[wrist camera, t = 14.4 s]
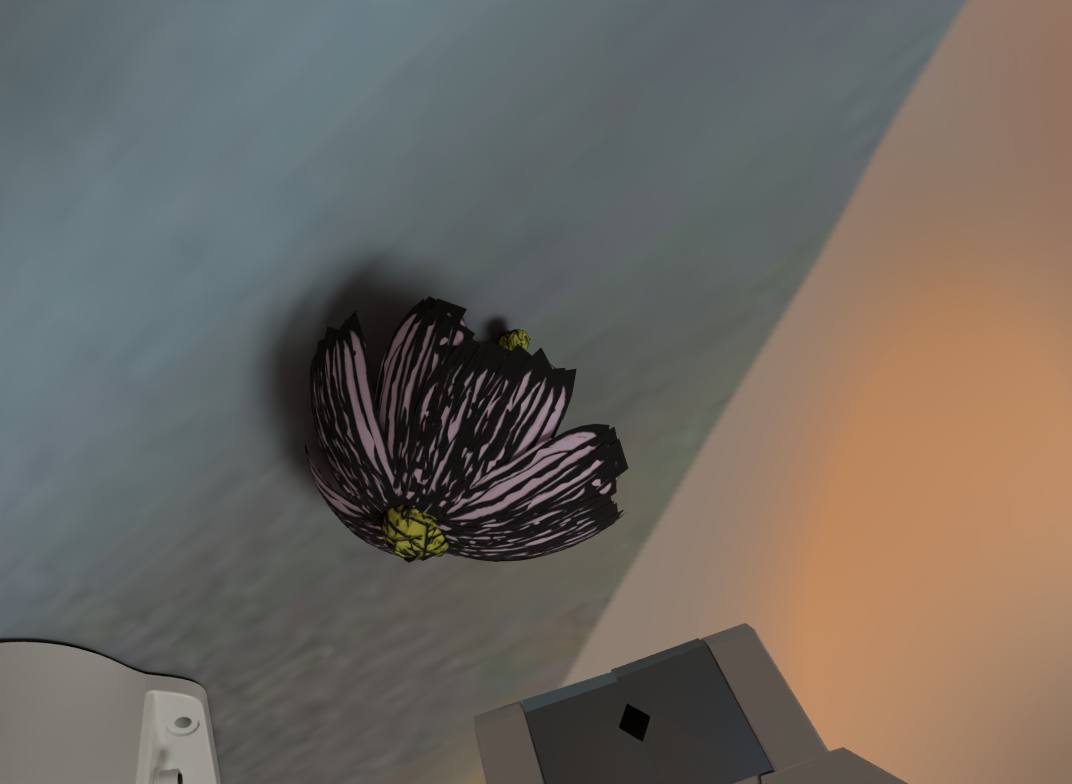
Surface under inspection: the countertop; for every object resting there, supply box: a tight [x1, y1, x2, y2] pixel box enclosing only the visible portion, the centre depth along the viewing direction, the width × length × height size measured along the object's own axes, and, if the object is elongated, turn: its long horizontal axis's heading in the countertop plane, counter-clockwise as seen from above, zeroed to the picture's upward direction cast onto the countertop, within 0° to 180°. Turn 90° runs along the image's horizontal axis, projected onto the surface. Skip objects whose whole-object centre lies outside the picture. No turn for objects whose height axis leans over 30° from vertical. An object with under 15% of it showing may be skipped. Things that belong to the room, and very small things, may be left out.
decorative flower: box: [305, 296, 628, 563], centre depth 40 cm, size 14×12×15 cm
